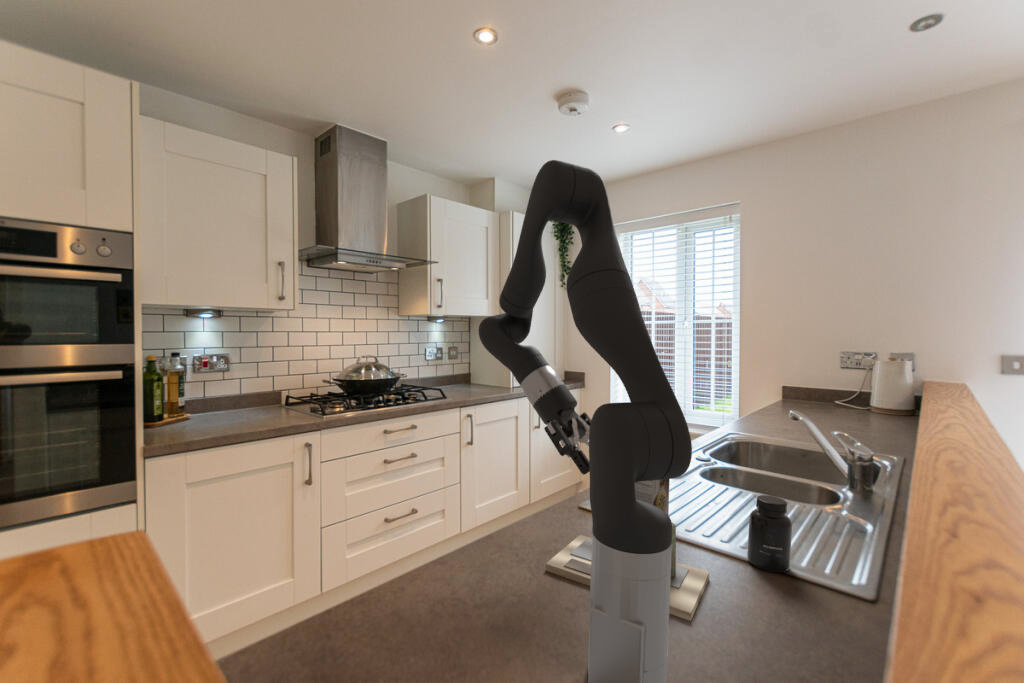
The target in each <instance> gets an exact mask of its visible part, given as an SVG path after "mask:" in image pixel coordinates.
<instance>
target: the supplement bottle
mask: <svg viewBox="0 0 1024 683" xmlns="http://www.w3.org/2000/svg"><path fill="white" fill-rule="evenodd" d="M787 505H788V502H787V501H786V500H784V499H782V498H780V497H778V496H773V495H769V494H768V495H767V494H761V495H758V496H757V497H756V503H755V507H756V509H753V510H752V511H751V512H750V514H749V521H748V536H747V537H748V538H747V539H748V540H747V554H746V555H747V556H746V557H747V560H748V562H749V563H750V564H752V565H753V566H754V567H756V568H757V569H760V570H763V571H765V572H769V573H776V574H779V573H780V574H781V572H783V573H785V572H784V571H786V570H787V569H788V570H789V569H790V564H791V550H792V549H791V548H792V539H793V538H792V537H793V536H792V534H793V522H792V520H791V518H790V517H789V516H788V515H787V513H788V510H787V508H788V506H787ZM788 570H787V571H788ZM787 571H786V572H787Z"/></svg>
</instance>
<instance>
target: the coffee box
mask: <svg viewBox="0 0 1024 683" xmlns="http://www.w3.org/2000/svg"><path fill="white" fill-rule="evenodd" d="M635 495H636V500H640V501H643V502H646V503H649V504H652V505H654V506H656V507H658V508H660V509H661V510H663V511H664V512H665V513H666V514H667V515H668V516H669V508H670V507H669V505H670V504H669V502H670V479H663V480H652V481H640V482H635Z"/></svg>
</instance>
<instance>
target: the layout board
mask: <svg viewBox="0 0 1024 683" xmlns="http://www.w3.org/2000/svg"><path fill="white" fill-rule="evenodd" d="M591 557H592V537H590V536H585V535H582V534H580V535H579V534H578V536H576V538H574V539H573V540H572V541H570V542H569V543H568V544H567V545H566V546H565V547H564V548H562V549H561V550H560V551H559V552H558V553H556V554H555V555H554V556H553V557H552V558H550V560H549V561H547V562H546V563H545V571H546V572H548V573H551V574H554V575H558V576H560V577H563V578H566V579H569V580H572V581H573V582H576V583H581V584H583V585H586V586H589V587H591ZM709 580H710V571H707V570H705V569H704V570H703V569H701V568H696V567H693V566H689V565H686V564H682V563H679V562H676V575H675V576H674V577H672V578H670V604H669V615H672V616H674V617H678V618H680V619H683V620H686V621H688V622H691V621H692V619H693V617H694V614H695V612H696V609H697V608H698V605H699V603H700V600H701V598H702V595H703V593H704V592H705V590H706V587H707V584H708V582H709Z"/></svg>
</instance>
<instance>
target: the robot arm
mask: <svg viewBox="0 0 1024 683" xmlns="http://www.w3.org/2000/svg"><path fill="white" fill-rule="evenodd" d="M610 206H611V205H610V200H609V196H608V192H607V188H606V185H605V181H604V179H603V178H602V176H601V175H600V173H598V172H596V171H595V170H593V169H591V168H588V167H585V166H581V165H578V164H577V165H576V164H574V163H569V162H565V161H561V160H557V159H551V160H548V161H547V162H545V163H544V164H543V165H542V166H541V167H540V169H539V170H538V172H537V175H536V176H535V179H534V182H533V185H532V188H531V191H530V194H529V198H528V202H527V207H526V210H525V214H524V218H523V222H522V226H521V230H520V234H519V239H518V243H517V248H516V251H515V255H514V259H513V263H512V264H511V268H510V271H509V273H508V275H507V278H506V280H505V283H504V285H503V287H502V290H501V293H500V294H499V299H498V301H499V307H500V308H501V310H502V311H503V312H504V313H500V314H495V315H491V316H488V317H485V318H484V319H482V321H481V322H480V323H479V325H478V336H479V340H480V342H481V344H482V345H483V347H484V349H486V351H487V352H488V353H489V354H491V355H492V356H493V357H494V359H496V360H498V362H500V363H501V364H502V365H503V366H504V367H506V369H508V370H509V371H510V372H511V374H512V376H513V377H514V378H515V380H516V382H517V383H518V384H519V386H520V387H521V388H522V391H523V392H524V395H525V397H526V399H527V400H528V401H529V403H530V404H531V406H532V407H533V409H534V410H535V412H536V413H537V415H538V417H539V418H540V419H541V421H542V422H543V424H544V425H545V427H544V428H543V429H544V431H545V433H546V434H547V436H548V437H549V439H550V441H551V442H552V444H553V446H554V448H555V449H556V450H557V452H558V454H559V455H560V456H561V457H564V456H566V457H568V458H571V460H572V462H574V464H575V466H576V467H577V469H578V470H579V472H580V473H581V474H582V475H583V476H584V475H586V474H589V505H590V511H591V519H592V526H591V528H592V532H591V533H592V534H591V535H592V536H591V538H592V557H591V586H589V589H590V592H589V594H590V595H589V596H590V598H589V620H588V621H589V622H588V623H589V624H588V625H589V627H588V656H587V657H588V662H587V669H588V670H587V674H588V677H587V683H667V682H668V676H667V675H668V663H669V662H668V658H669V655H668V654H669V652H668V651H669V630H670V629H669V627H670V624H669V623H670V614H669V604H670V576H671V553H672V519H671V518H670V516H669V514H668V515H667V514H666V513H665V512H664V511H663V510H661V509H660V508H658V507H656V506H654V505H652V504H649V503H646V502H643V501H640V500H636V495H635V482H640V481H652V480H663V479H669V480H670V479H677V478H678V477H681V476H683V475H685V473H686V472H687V471H688V469H689V467H690V466H691V462H692V457H693V455H692V454H693V446H692V439H691V434H690V429H689V426H688V423H687V420H686V417H685V415H684V413H683V410H682V408H681V405H680V403H679V401H678V399H677V396H676V395H675V392H674V391H673V388H672V386H671V384H670V381H669V380H668V378H667V376H666V373H665V371H664V369H663V367H662V364H661V362H660V359H659V357H658V355H657V352H656V350H655V347H654V344H653V342H652V338H651V337H650V334H649V331H648V328H647V326H646V322H645V320H644V317H643V315H642V311H641V308H640V303H639V300H638V296H637V294H636V291H635V288H634V285H633V282H632V281H633V280H632V278H631V275H630V273H629V271H628V269H627V266H626V262H625V260H624V257H623V254H622V250H621V247H620V244H619V241H618V240H619V239H618V237H617V234H616V229H615V227H614V226H615V225H614V221H613V216H612V211H611V207H610ZM549 221H553V222H559V223H564V224H568V225H572V226H574V227H575V228H576V229H577V231H578V233H579V237H580V241H581V248H580V250H579V252H578V255H576V258H575V260H574V262H573V263H572V265H571V267H570V270H569V272H568V275H567V278H566V282H565V283H566V293H567V294H566V295H567V298H568V303H569V306H570V311H571V314H572V319H573V322H574V325H575V327H576V329H577V331H578V332H579V334H580V336H582V338H583V339H584V341H586V342H587V343H588V344H589V346H590V347H591V348H592V349H593V350H594V351H595V352H596V353H597V354H598V355H599V356H600V357H601V358H602V359H603V360H604V361H605V362H606V363H607V365H609V366H610V367H611V369H612V370H613V371H614V372H615V374H616V375H617V377H618V378H619V380H620V381H621V383H622V384H623V387H624V388H625V391H626V394H627V396H628V397H629V398H628V399H629V401H630V402H629V401H628V402H627V401H626V402H611V403H610V402H609V403H603V404H602V405H600V406H598V407H597V408H596V410H595V411H594V412H593V414H592V418H590V416H589V415H588V414H587V413H586V412H585V411H584V412H583V413H581V414H580V415H579V414H578V413H577V412H576V411H575V408H576V407H577V405H578V401H577V399H576V398H575V396H574V395H573V394H572V393H571V391H570V390H569V389H568V387H567V385H566V384H565V383H564V381H563V380H562V378H561V377H560V376H559V375H558V373H557V372H556V371H555V370H554V369H553V368H552V367H551V366H550V364H549V363H548V361H547V360H546V358H545V357H544V356H543V354H542V353H541V352H540V350H539V349H538V348H537V346H534V345H525V344H524V345H522V344H521V343H523V342H524V341H525V340H526V339H527V337H528V336H529V334H530V331H531V327H532V319H533V312H534V307H535V306H536V304H537V303H538V300H539V298H540V296H541V294H542V292H543V290H544V287H545V284H546V279H547V266H546V261H545V257H544V251H543V243H542V242H543V241H542V240H543V234H544V233H543V232H544V230H545V227H546V226H547V224H548V222H549ZM580 443H581V444H585V445H586V446H587V447H588V458H587V456H586V454H585V453H584V451H583V450H582V449H581V448H580Z"/></svg>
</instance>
